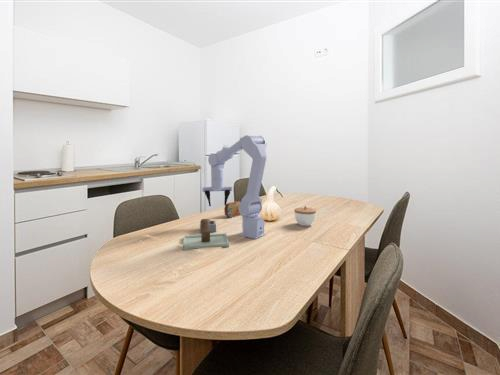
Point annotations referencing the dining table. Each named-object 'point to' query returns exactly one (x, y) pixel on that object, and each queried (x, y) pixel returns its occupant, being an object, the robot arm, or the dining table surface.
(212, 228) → the grey square socket
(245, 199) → the robot arm
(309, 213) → the lidded jar
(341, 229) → the dining table surface
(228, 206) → the tin
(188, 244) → the tray
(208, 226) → the dowel
